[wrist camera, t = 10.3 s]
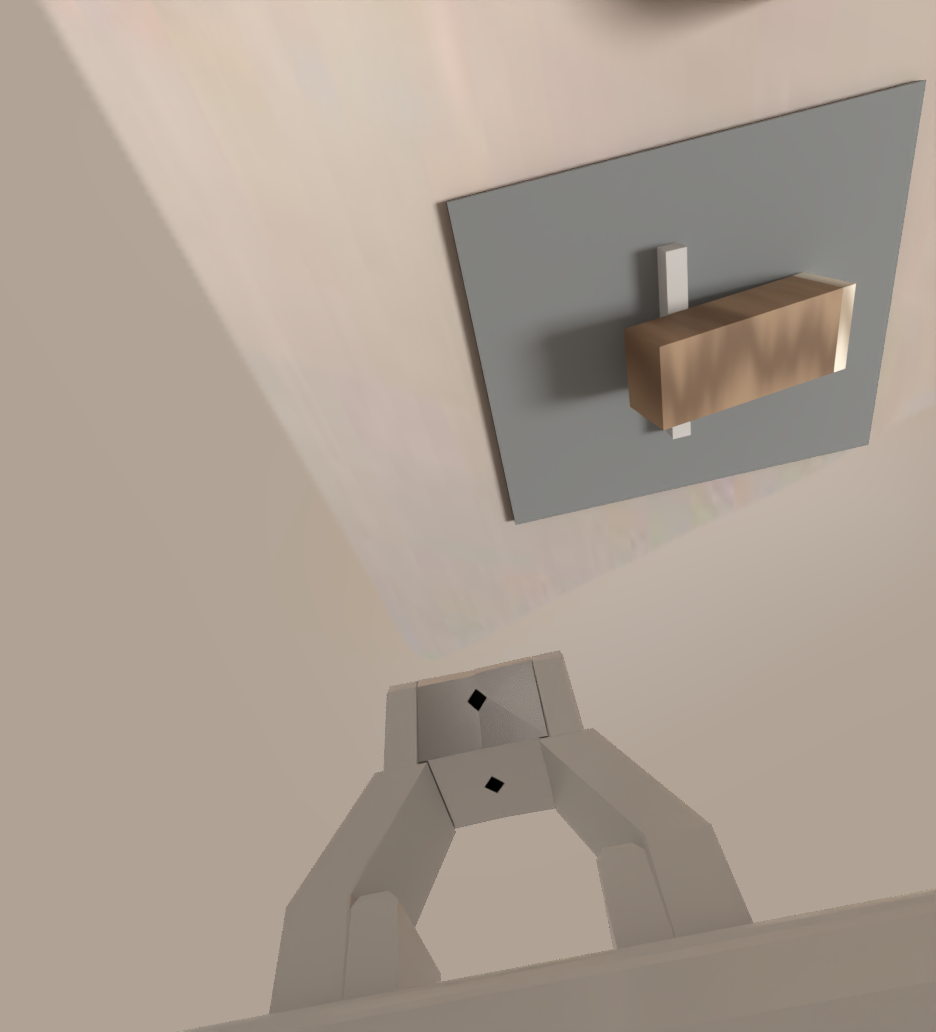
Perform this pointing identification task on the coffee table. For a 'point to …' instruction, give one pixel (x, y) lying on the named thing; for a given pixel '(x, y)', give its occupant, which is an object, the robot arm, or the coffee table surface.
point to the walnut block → (738, 348)
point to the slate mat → (680, 294)
